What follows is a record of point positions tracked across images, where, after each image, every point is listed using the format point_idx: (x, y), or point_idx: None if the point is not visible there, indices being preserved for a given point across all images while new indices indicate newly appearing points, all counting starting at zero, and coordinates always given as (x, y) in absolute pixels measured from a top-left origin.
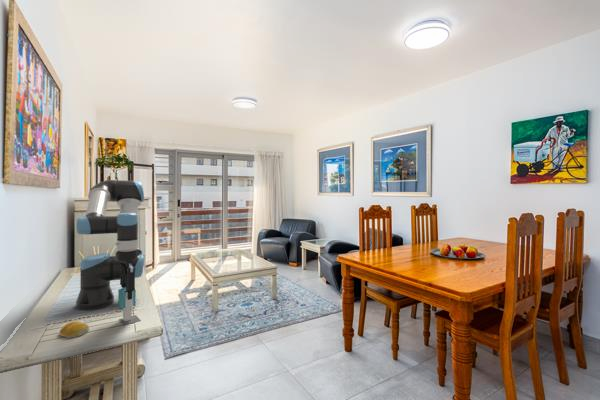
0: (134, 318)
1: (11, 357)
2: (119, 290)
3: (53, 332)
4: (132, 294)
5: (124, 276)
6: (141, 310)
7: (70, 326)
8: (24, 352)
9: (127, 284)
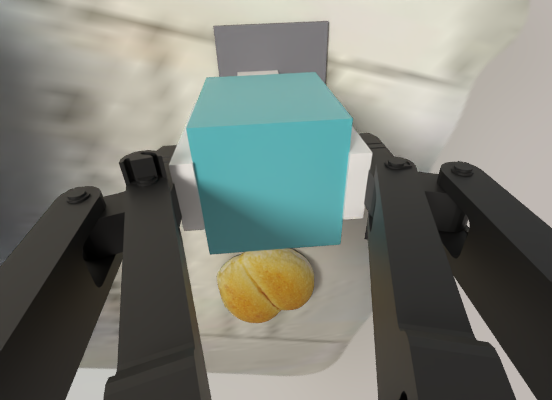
0: (272, 49)
1: (328, 366)
2: (254, 250)
3: (216, 318)
4: (357, 139)
5: (200, 341)
6: None
7: (274, 310)
8: (320, 353)
9: (462, 282)
